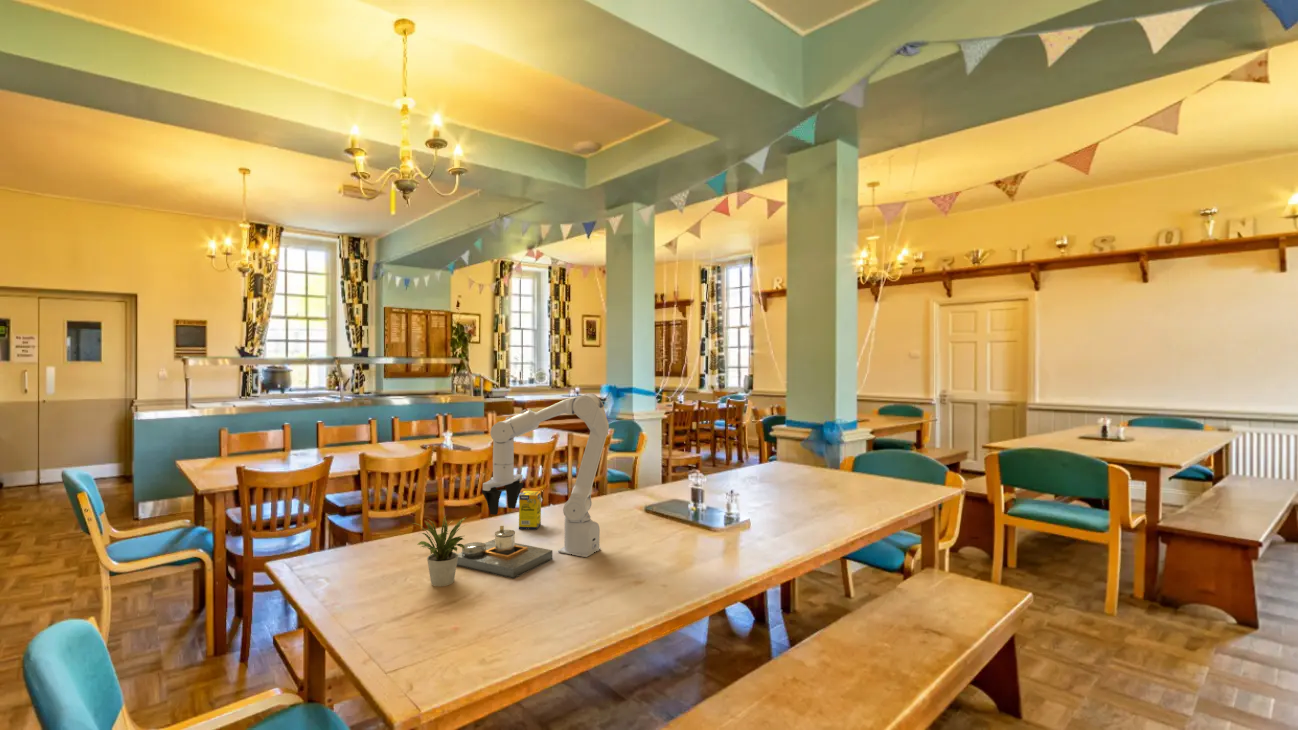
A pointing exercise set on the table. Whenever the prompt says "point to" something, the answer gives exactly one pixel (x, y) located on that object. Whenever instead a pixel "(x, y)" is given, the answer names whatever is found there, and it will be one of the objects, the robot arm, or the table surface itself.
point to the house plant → (442, 553)
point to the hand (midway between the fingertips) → (502, 511)
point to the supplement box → (529, 509)
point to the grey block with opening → (502, 559)
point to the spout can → (504, 541)
